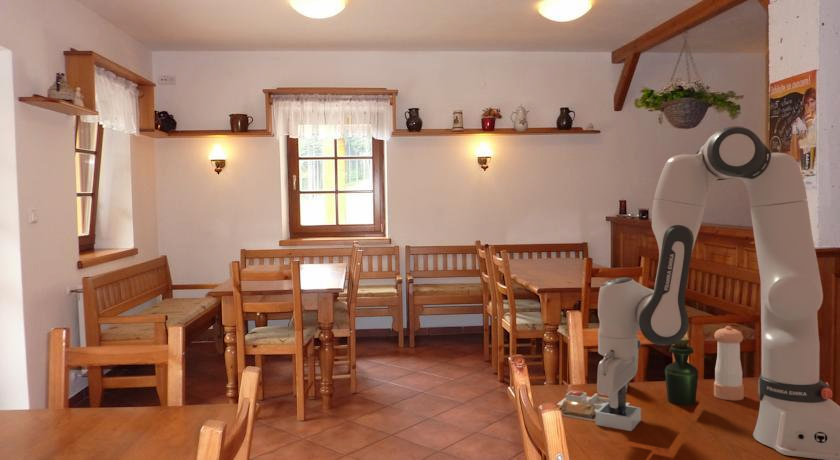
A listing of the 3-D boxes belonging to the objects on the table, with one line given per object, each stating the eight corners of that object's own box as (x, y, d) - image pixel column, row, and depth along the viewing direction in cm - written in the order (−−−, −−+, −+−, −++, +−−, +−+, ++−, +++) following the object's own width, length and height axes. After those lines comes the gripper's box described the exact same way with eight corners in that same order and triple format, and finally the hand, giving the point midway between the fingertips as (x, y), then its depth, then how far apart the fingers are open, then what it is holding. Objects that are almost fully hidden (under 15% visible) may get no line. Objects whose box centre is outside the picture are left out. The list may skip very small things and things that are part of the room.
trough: (603, 419, 157) (603, 412, 157) (595, 427, 152) (595, 420, 152) (560, 411, 163) (560, 405, 163) (551, 419, 158) (550, 412, 158)
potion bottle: (669, 400, 170) (668, 333, 169) (701, 405, 166) (701, 336, 165) (661, 408, 164) (660, 339, 163) (694, 414, 159) (694, 343, 158)
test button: (583, 398, 167) (583, 391, 167) (579, 401, 165) (579, 394, 165) (573, 396, 169) (572, 389, 169) (569, 399, 166) (569, 392, 166)
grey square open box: (640, 426, 152) (640, 407, 152) (631, 437, 145) (631, 418, 145) (606, 420, 157) (606, 402, 156) (595, 430, 150) (595, 412, 150)
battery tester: (629, 408, 164) (629, 395, 164) (618, 420, 156) (618, 406, 156) (570, 399, 173) (570, 386, 173) (556, 410, 165) (556, 396, 165)
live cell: (594, 417, 157) (594, 402, 157) (589, 422, 154) (589, 406, 154) (565, 412, 161) (565, 397, 161) (559, 416, 158) (559, 401, 158)
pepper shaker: (708, 393, 175) (708, 324, 174) (733, 391, 176) (733, 323, 175) (723, 401, 168) (723, 329, 167) (749, 399, 169) (749, 328, 168)
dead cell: (628, 414, 151) (627, 383, 151) (623, 419, 148) (623, 387, 148) (612, 412, 153) (611, 381, 153) (607, 416, 150) (606, 385, 150)
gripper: (617, 358, 140) (618, 419, 140) (642, 339, 156) (642, 394, 157) (589, 354, 143) (590, 414, 144) (616, 336, 160) (617, 390, 161)
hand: (617, 404), depth 151 cm, fingers closed on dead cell, 4 cm apart
